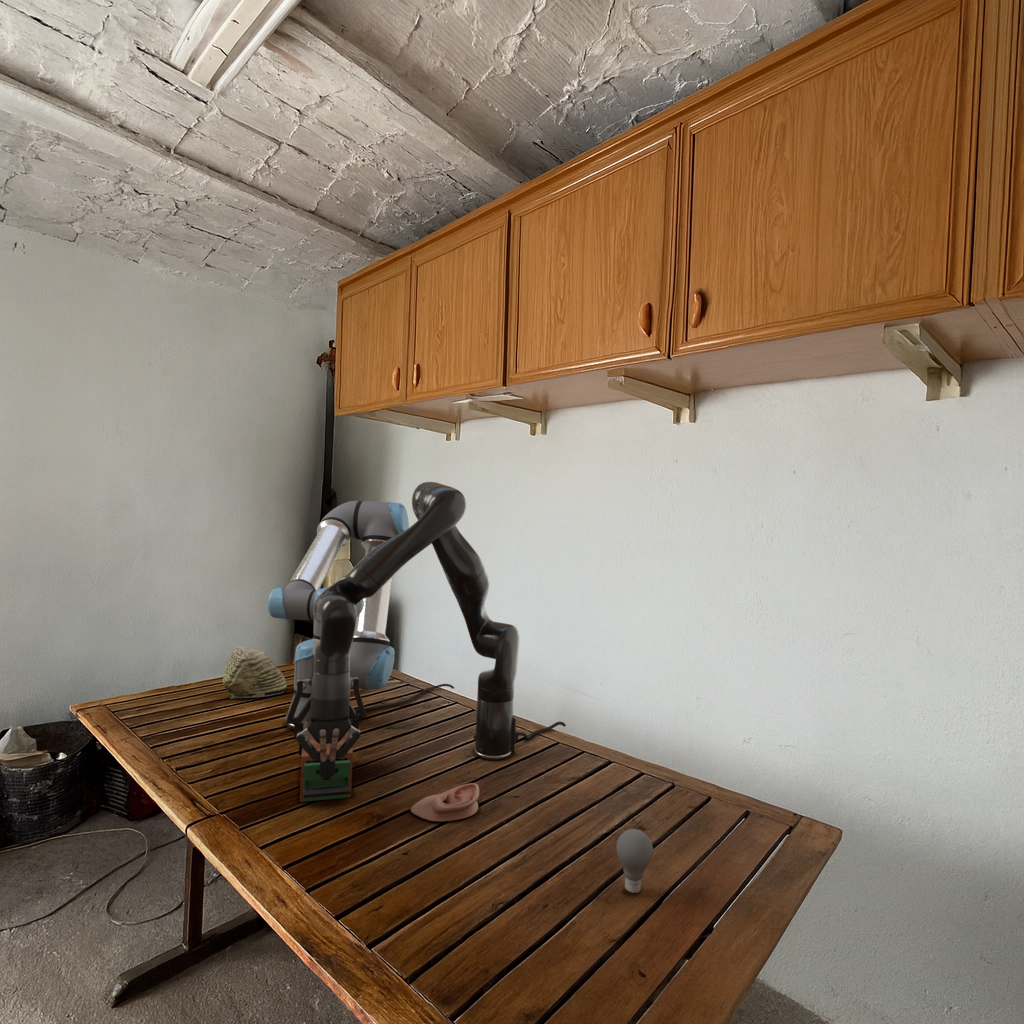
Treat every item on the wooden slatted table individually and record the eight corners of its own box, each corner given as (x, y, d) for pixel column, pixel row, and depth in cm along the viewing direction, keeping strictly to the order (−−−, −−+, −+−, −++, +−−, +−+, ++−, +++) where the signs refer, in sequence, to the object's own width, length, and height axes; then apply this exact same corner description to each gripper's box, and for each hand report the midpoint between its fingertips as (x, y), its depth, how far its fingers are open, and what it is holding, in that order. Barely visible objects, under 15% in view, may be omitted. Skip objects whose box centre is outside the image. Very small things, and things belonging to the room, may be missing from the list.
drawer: (350, 811, 126) (351, 774, 126) (302, 815, 124) (303, 778, 123) (345, 763, 148) (346, 732, 148) (304, 766, 146) (305, 734, 146)
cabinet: (351, 797, 134) (352, 752, 134) (299, 801, 131) (301, 756, 131) (347, 761, 152) (348, 721, 152) (302, 764, 149) (303, 724, 149)
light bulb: (610, 879, 108) (613, 822, 108) (644, 879, 109) (647, 822, 109) (619, 902, 102) (622, 840, 102) (655, 901, 103) (658, 840, 103)
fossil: (218, 695, 195) (220, 647, 195) (278, 685, 208) (279, 640, 207) (228, 703, 189) (230, 653, 188) (289, 692, 201) (290, 645, 201)
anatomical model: (405, 797, 126) (424, 773, 137) (404, 817, 126) (424, 792, 138) (469, 807, 124) (484, 782, 135) (468, 827, 124) (483, 800, 135)
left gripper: (275, 661, 139) (272, 761, 140) (381, 658, 146) (377, 753, 146) (277, 653, 146) (274, 748, 147) (378, 650, 153) (374, 741, 153)
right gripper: (295, 699, 122) (291, 789, 122) (365, 696, 126) (361, 783, 126) (296, 688, 129) (292, 773, 129) (363, 685, 133) (359, 768, 133)
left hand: (325, 750), depth 146 cm, fingers closed on cabinet, 10 cm apart
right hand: (326, 778), depth 127 cm, fingers closed
